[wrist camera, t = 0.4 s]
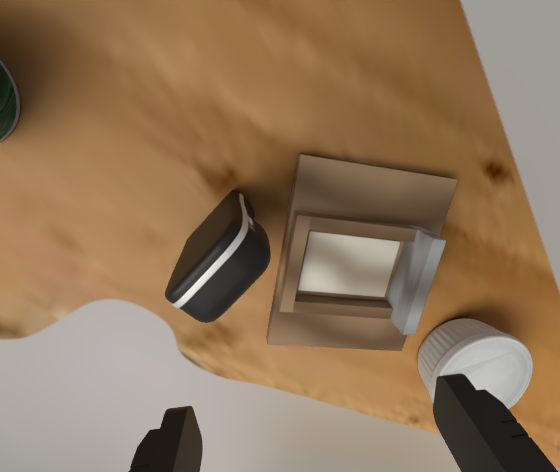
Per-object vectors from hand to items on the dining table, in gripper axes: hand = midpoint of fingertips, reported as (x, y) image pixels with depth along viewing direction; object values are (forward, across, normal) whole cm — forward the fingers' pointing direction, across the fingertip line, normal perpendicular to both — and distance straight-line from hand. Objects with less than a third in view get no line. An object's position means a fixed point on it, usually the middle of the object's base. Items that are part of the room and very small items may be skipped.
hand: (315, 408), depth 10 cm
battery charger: (+20, +5, +1) cm, 21 cm away
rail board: (+21, -7, +6) cm, 23 cm away
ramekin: (+21, -18, +20) cm, 35 cm away
